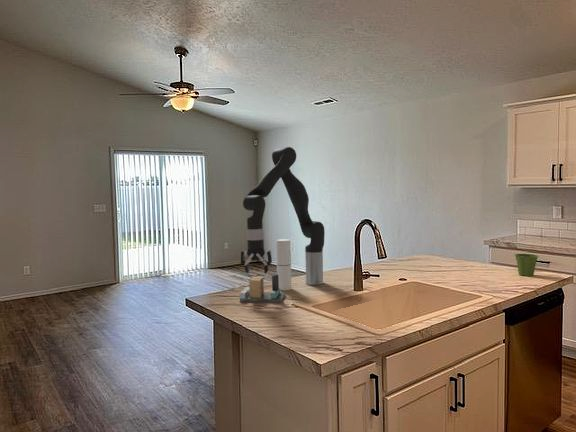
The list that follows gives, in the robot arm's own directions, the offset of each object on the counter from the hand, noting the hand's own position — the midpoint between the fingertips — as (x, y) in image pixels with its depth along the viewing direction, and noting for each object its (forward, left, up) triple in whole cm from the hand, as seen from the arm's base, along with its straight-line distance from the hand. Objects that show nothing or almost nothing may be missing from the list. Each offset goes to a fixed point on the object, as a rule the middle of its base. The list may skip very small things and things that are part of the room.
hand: (256, 273), depth 201 cm
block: (0, 0, -11) cm, 11 cm away
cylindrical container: (-20, +9, -12) cm, 25 cm away
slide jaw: (0, +9, -10) cm, 14 cm away
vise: (0, +3, -12) cm, 12 cm away
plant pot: (-63, +138, -12) cm, 152 cm away
